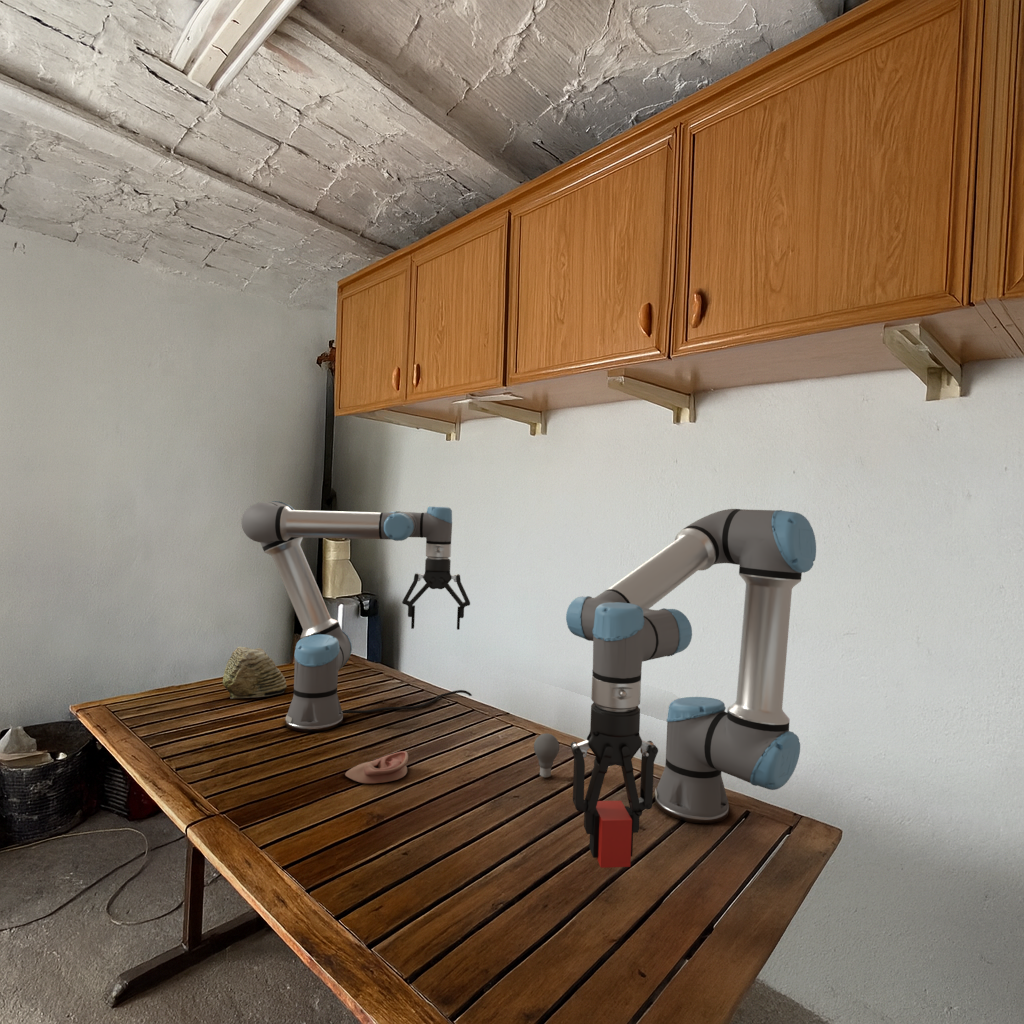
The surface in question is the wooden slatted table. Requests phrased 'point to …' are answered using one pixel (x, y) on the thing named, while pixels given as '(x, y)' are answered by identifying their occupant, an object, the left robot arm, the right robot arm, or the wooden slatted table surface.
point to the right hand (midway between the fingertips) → (610, 851)
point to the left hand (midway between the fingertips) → (435, 628)
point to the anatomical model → (380, 769)
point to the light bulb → (546, 752)
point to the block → (614, 834)
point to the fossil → (252, 674)
